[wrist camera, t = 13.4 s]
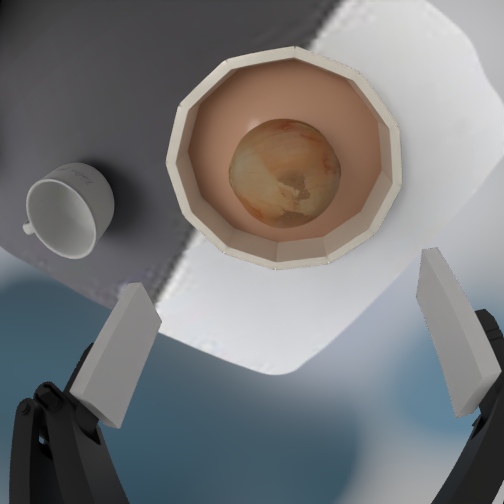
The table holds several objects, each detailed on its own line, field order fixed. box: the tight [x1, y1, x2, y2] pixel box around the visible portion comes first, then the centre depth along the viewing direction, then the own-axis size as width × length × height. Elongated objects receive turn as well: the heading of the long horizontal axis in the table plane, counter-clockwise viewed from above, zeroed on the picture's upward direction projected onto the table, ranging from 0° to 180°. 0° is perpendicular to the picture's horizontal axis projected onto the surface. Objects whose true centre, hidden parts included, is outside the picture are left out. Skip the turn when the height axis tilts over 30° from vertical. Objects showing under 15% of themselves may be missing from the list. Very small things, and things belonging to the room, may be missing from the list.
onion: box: [229, 119, 341, 229], centre depth 27 cm, size 10×10×10 cm
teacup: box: [23, 163, 114, 259], centre depth 33 cm, size 14×11×8 cm
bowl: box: [166, 46, 402, 270], centre depth 29 cm, size 22×22×5 cm
